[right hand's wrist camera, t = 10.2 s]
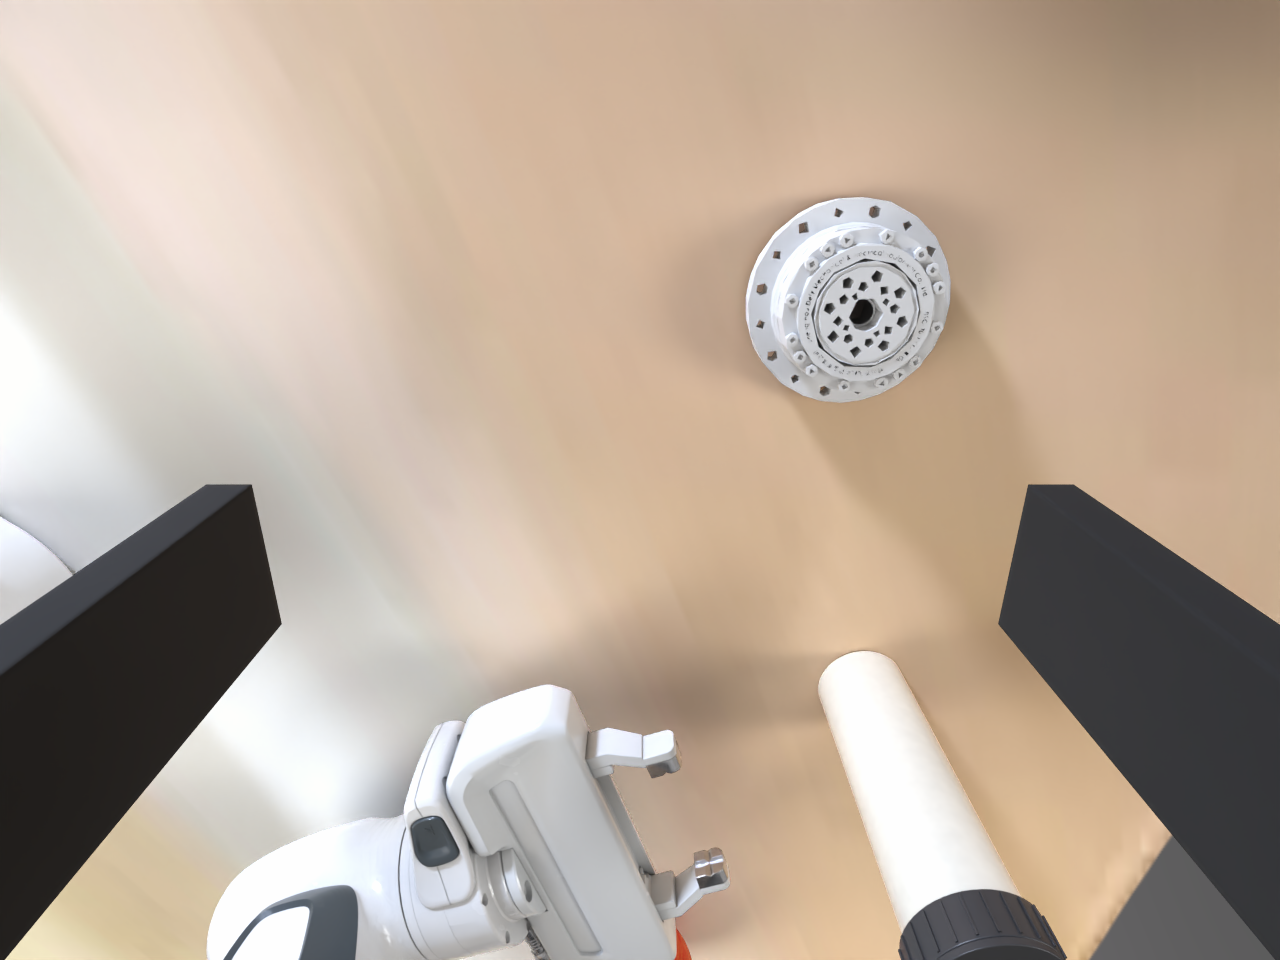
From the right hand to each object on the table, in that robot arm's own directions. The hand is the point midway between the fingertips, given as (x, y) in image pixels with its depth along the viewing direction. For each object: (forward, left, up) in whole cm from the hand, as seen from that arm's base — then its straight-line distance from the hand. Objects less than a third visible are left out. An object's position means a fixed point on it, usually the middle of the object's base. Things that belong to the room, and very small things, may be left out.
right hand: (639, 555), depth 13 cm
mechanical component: (-10, -2, -27) cm, 29 cm away
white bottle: (-17, +21, -27) cm, 39 cm away
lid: (-17, +21, -8) cm, 29 cm away
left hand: (-7, +26, -21) cm, 34 cm away
